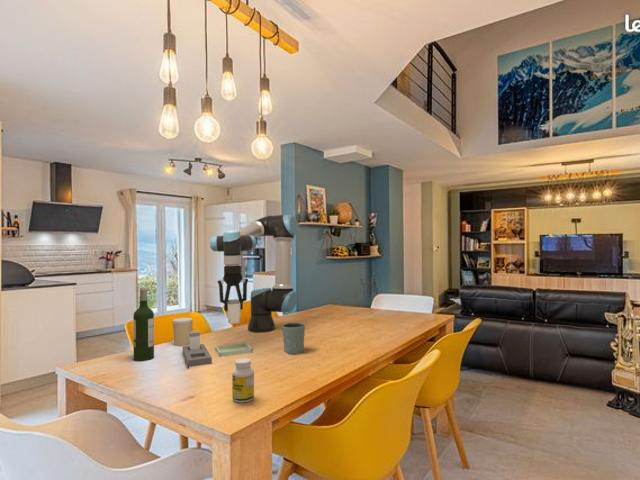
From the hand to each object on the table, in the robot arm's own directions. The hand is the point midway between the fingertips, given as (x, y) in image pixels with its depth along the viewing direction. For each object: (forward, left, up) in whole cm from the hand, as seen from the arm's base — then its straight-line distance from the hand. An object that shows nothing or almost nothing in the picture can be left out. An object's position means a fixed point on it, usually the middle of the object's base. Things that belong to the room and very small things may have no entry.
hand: (233, 317), depth 166 cm
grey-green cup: (-24, +12, -16) cm, 31 cm away
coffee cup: (+19, -27, -16) cm, 36 cm away
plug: (0, 0, -2) cm, 2 cm away
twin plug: (+16, -4, -15) cm, 23 cm away
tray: (0, 0, -15) cm, 15 cm away
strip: (+16, +2, -15) cm, 22 cm away
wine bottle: (+36, -9, -16) cm, 40 cm away
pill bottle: (+8, +53, -16) cm, 56 cm away
